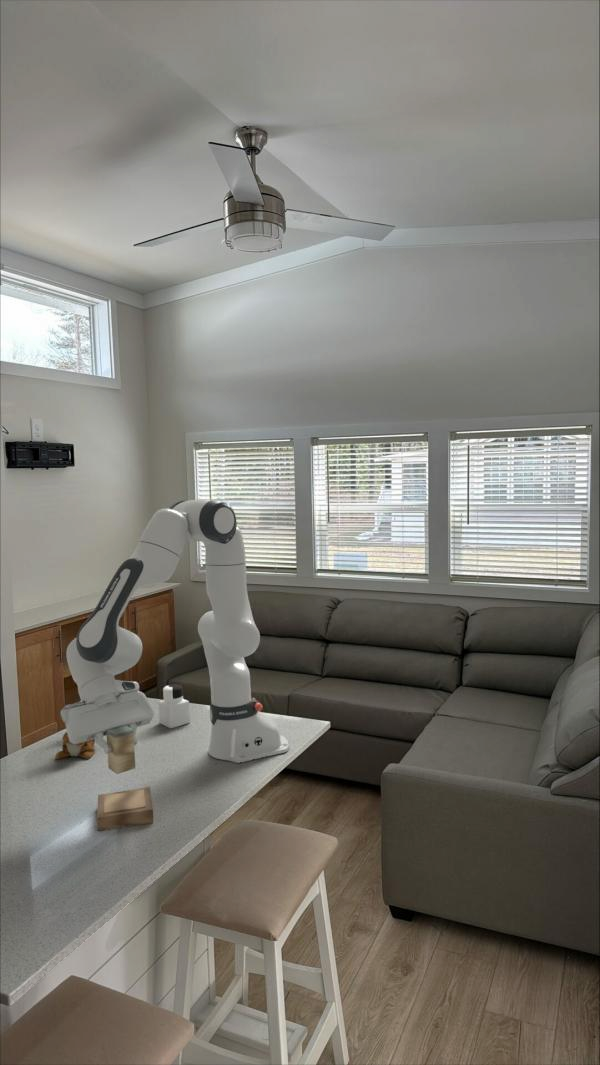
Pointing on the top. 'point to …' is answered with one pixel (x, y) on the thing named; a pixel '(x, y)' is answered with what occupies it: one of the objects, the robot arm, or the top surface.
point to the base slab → (124, 808)
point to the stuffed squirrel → (76, 748)
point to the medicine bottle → (174, 707)
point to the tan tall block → (121, 749)
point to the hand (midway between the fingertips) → (121, 748)
